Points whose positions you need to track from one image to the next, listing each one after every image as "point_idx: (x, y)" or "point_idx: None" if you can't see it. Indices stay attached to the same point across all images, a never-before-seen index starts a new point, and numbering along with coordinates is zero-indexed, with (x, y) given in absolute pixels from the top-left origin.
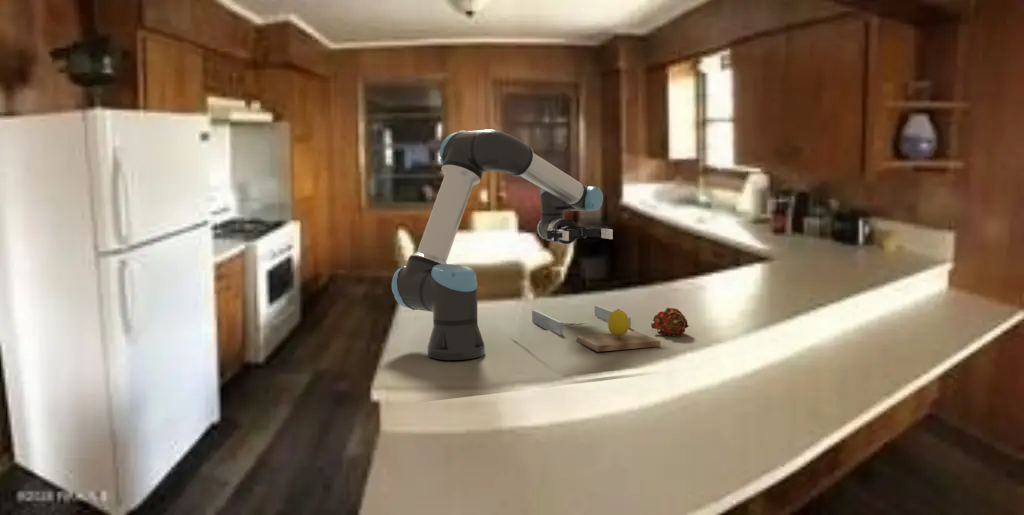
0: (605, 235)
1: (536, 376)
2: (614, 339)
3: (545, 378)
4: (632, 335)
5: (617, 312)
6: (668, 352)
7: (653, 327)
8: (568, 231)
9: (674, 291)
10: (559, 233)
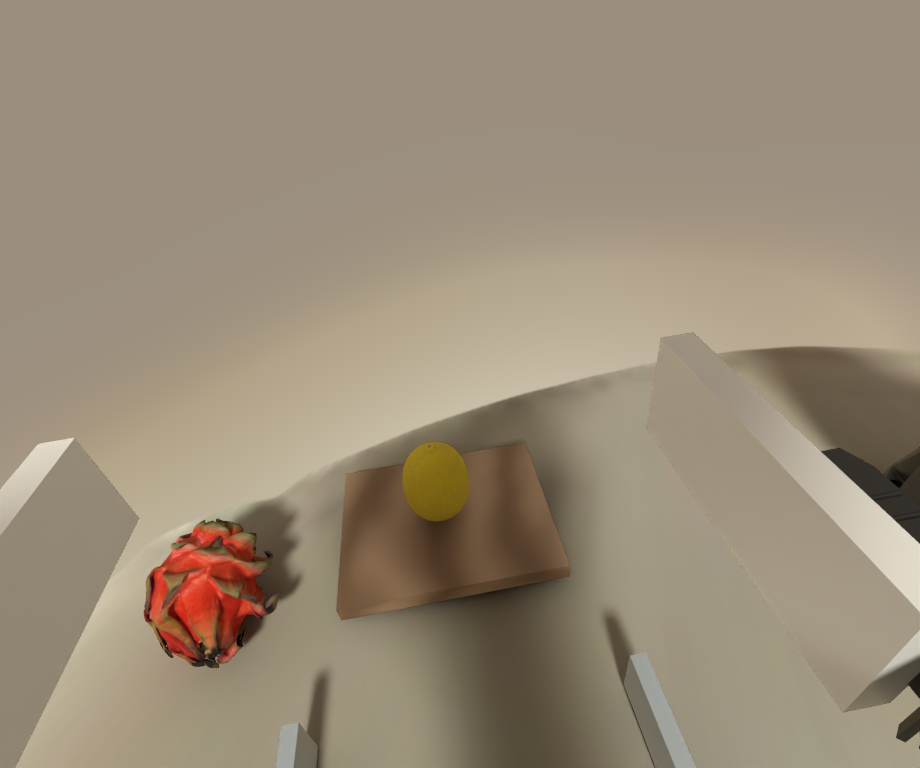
0: (37, 644)
1: None
2: None
3: (643, 376)
4: (384, 544)
5: (438, 443)
6: (342, 479)
7: (267, 610)
8: (664, 339)
9: None
10: (828, 453)
